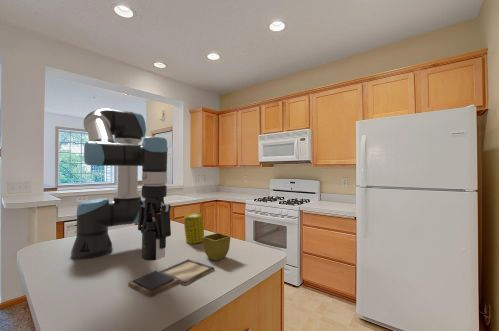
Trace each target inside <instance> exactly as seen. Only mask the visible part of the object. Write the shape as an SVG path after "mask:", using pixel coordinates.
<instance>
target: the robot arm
mask: <svg viewBox="0 0 499 331" xmlns="http://www.w3.org/2000/svg"><path fill="white" fill-rule="evenodd" d="M146 124H147V123H146V120H145V118H144V116H143V115H142V114H141V113H138V112H133V111H125V110H117V109H110V108H99V109H96V110H92V111H91V112H89V113H88V114H87V115H85V118H84V119H83V128H84V130H85V132H86V133H87V135H88V140H89V141H85V143H84V145H83V162H84V164H85V165H87V166H96V167H105V166H106V167H108V166H109V167H111V166H112V167H113V166H114V167H115V166H117V192H116V194H115V195H114V196H113V200H109V198H106V197H104V198H96V199H95V198H94V199H91V200H90V199H89V200H86V201H82V202H80V203H79V204H78V205H77V207H76V237H75V241H74V242H73V245H72V248H71V251H70V257H71V258H73V259H78V260H79V259H90V258H91V259H92V258H96V257H99V256H100V257H101V256H103V255H106V254H108V253H111V252H112V250H113V243H112V240H111V237H110V235H109V227H117V226H118V227H119V226H124V225H133V224H137V223H138V224H137V230H138V231H140V233H141V234H142V232H143V230H144V229H145V228H146V221H147V220H149V219H155V223H156V228H157V233H158V237H157V238H156V259H157V260H160V259H163V258H165V257H166V246H167V238H169V237H171V236H172V235H171V234H172V230H171V214H170V213H171V212H170V211H171V204H166V203H165V200H164V198H165V197H167V195H168V194H167V190H168V189H167V188H168V186H167V185H166V184H167V183H168V150H169V149H168V140H167V138H165V137H160V136H146V135H147V133H146V132H147V125H146ZM115 141H116V142H115ZM141 142H142V144H140V143H141ZM139 167H141V169H142V170H141V171H142V172H141V173H142V174H141V184H143V185H142V186H141V194H140V193H139V191H138V190H139V188H138V184H139V181H138V180H139V177H138V175H139V172H138V171H139ZM143 198H144V199H143ZM157 260H156V261H157Z"/></svg>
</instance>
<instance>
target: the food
mask: <svg viewBox="0 0 499 331" xmlns="http://www.w3.org/2000/svg"><path fill="white" fill-rule="evenodd" d="M183 225H184V235H185V241H186V243H188V244H191V245H192V244H199V243H203V239H202V237H204V236H205V229H204V228H205V227H204V220H203V215H202V213H198V212H193V213H188V214H185V215H184V216H183Z"/></svg>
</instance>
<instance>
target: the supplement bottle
mask: <svg viewBox="0 0 499 331" xmlns="http://www.w3.org/2000/svg"><path fill="white" fill-rule="evenodd" d="M157 237H158V233H157V228H156V223H155V218H153V219H149V220H147V221H146V228H145V229H144V230H143V232H142V233H141V259H143V260H144V261H147V262H148V261H149V262H151V261H157V259H156V238H157Z"/></svg>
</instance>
